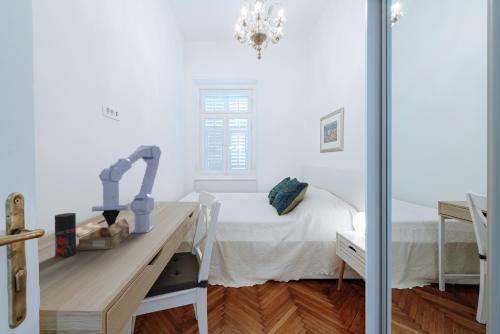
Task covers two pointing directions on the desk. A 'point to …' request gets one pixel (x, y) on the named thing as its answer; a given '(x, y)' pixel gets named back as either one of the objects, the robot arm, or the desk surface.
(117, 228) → the flap
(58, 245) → the deodorant
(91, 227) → the flap
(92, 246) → the carton
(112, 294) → the desk surface
